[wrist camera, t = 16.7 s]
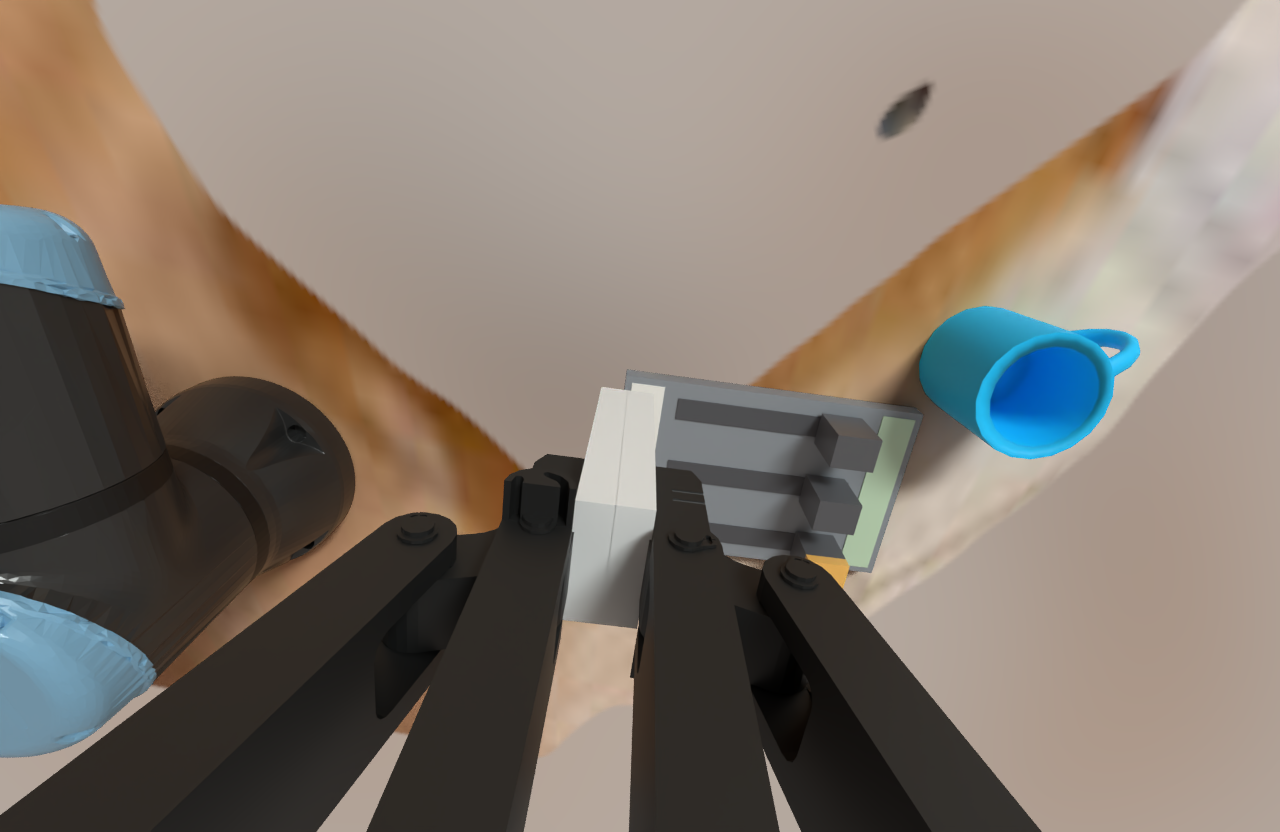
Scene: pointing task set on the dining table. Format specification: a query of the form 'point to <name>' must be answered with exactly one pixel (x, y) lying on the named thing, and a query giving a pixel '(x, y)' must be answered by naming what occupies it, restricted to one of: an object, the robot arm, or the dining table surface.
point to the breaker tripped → (821, 553)
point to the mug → (1023, 378)
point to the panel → (773, 459)
